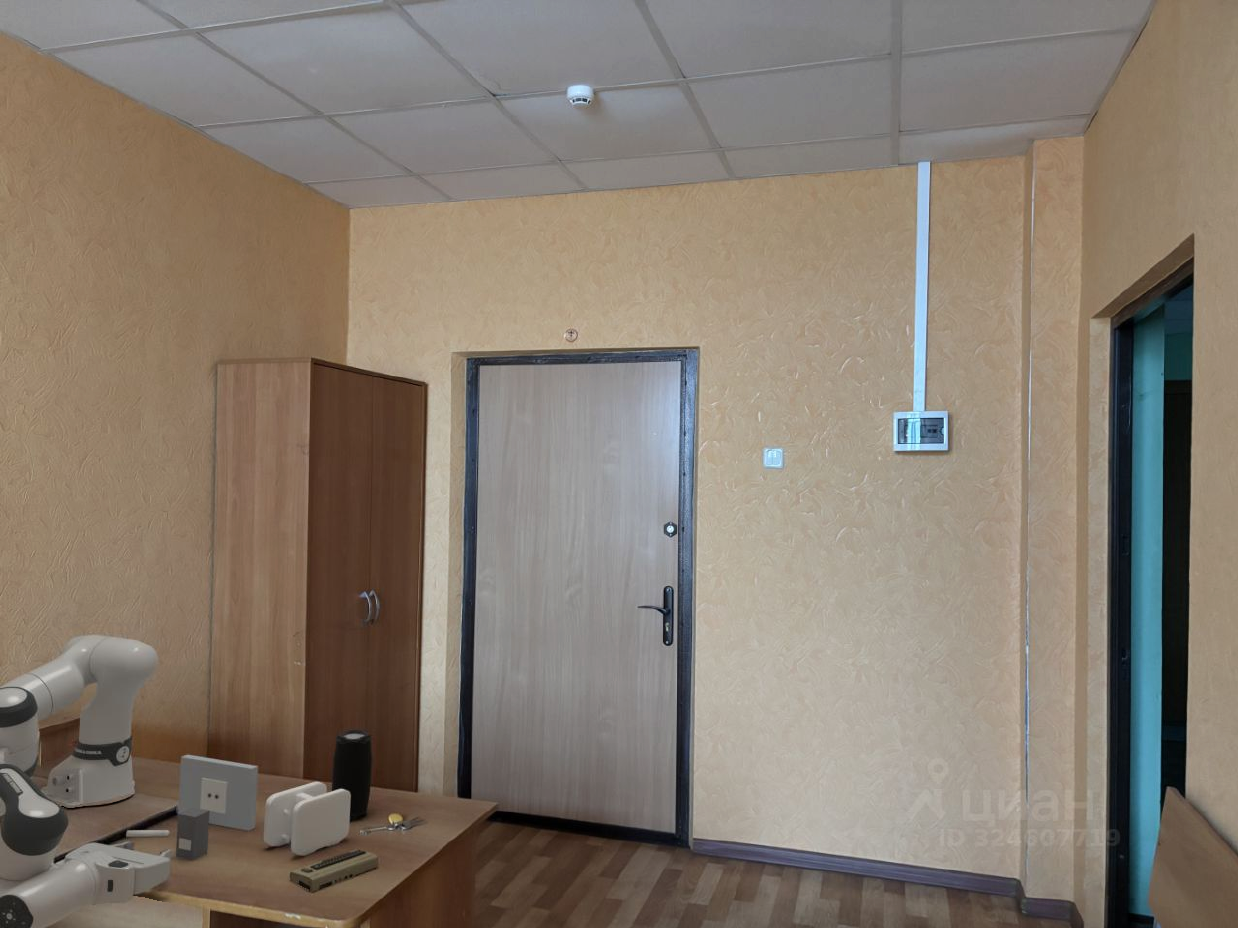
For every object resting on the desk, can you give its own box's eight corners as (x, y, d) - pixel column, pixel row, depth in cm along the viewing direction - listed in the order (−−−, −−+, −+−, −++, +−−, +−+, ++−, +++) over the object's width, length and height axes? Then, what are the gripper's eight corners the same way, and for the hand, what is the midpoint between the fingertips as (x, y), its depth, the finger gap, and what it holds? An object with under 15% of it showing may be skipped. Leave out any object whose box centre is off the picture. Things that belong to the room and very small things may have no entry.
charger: (175, 856, 187) (177, 813, 187) (194, 847, 192) (196, 805, 192) (192, 860, 186) (195, 816, 186) (211, 850, 191) (213, 808, 191)
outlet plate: (176, 817, 208) (179, 757, 208) (184, 814, 210) (187, 754, 210) (247, 831, 202) (250, 769, 202) (254, 827, 204) (258, 766, 204)
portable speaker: (343, 806, 219) (348, 726, 220) (376, 812, 216) (381, 731, 217) (322, 818, 211) (326, 735, 212) (355, 824, 208) (360, 740, 209)
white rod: (126, 838, 196) (126, 831, 196) (128, 835, 197) (128, 829, 197) (167, 837, 197) (168, 831, 197) (170, 835, 198) (170, 828, 198)
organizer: (291, 862, 187) (294, 806, 187) (261, 848, 193) (263, 794, 193) (349, 840, 200) (351, 788, 200) (319, 828, 206) (321, 777, 206)
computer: (355, 858, 191) (355, 842, 191) (378, 869, 186) (379, 853, 186) (288, 882, 179) (289, 865, 179) (311, 895, 174) (312, 877, 174)
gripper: (46, 884, 167) (108, 856, 181) (132, 904, 161) (190, 873, 175) (48, 851, 168) (110, 825, 181) (134, 869, 161) (192, 841, 175)
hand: (150, 849), depth 178 cm, fingers open, 8 cm apart
